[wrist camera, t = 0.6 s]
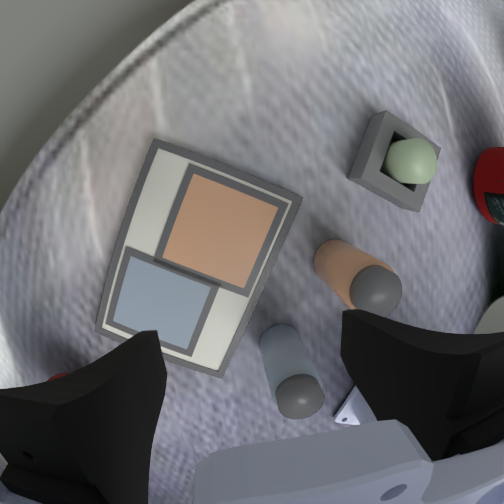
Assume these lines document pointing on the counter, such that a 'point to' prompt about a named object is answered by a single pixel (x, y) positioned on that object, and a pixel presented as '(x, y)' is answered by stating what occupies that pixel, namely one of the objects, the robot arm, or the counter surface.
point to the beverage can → (490, 184)
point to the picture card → (193, 256)
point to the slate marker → (291, 373)
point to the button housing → (373, 153)
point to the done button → (410, 161)
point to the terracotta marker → (358, 277)
